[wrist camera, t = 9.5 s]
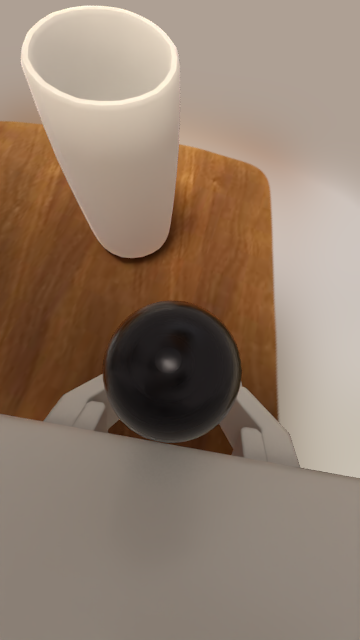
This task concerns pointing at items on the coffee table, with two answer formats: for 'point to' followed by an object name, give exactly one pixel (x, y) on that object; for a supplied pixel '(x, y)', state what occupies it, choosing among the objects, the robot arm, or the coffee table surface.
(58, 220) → the coffee table surface
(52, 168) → the coffee table surface
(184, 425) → the black knob on rod
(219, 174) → the coffee table surface
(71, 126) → the cup
